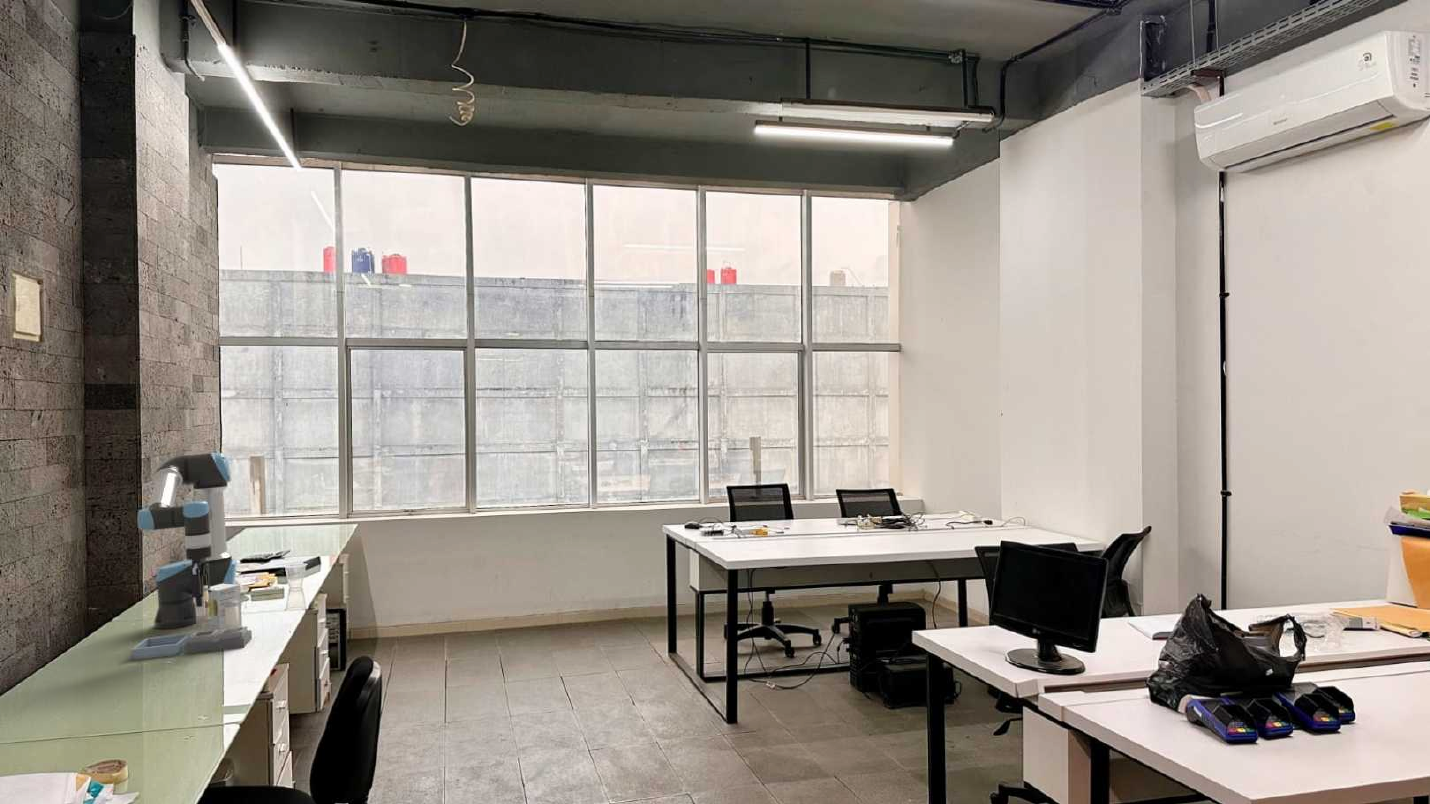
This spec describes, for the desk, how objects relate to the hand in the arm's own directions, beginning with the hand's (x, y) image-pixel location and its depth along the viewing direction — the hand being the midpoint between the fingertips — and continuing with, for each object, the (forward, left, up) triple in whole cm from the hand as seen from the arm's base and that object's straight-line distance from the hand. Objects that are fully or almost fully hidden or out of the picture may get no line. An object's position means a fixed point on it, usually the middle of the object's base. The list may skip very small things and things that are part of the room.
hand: (202, 613), depth 301 cm
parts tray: (-2, -13, -12) cm, 18 cm away
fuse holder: (0, +5, -12) cm, 13 cm away
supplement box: (-21, +1, -12) cm, 24 cm away
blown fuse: (0, 0, -3) cm, 3 cm away
